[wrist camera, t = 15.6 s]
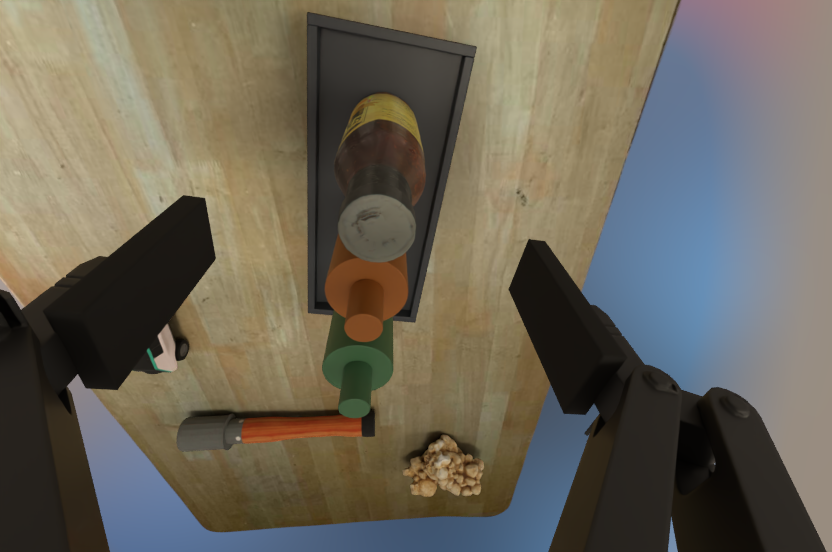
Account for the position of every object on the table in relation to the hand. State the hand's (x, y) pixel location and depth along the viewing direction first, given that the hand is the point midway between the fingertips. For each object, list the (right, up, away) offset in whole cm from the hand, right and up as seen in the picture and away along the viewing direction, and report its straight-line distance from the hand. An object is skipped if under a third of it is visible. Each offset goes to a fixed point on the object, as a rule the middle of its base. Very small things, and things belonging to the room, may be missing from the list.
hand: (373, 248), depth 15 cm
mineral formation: (+8, -36, +55) cm, 66 cm away
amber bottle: (-3, +6, +24) cm, 25 cm away
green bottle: (-4, -2, +29) cm, 29 cm away
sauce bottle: (-1, +13, +19) cm, 23 cm away
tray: (-3, +7, +24) cm, 25 cm away
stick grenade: (-20, -24, +45) cm, 55 cm away
